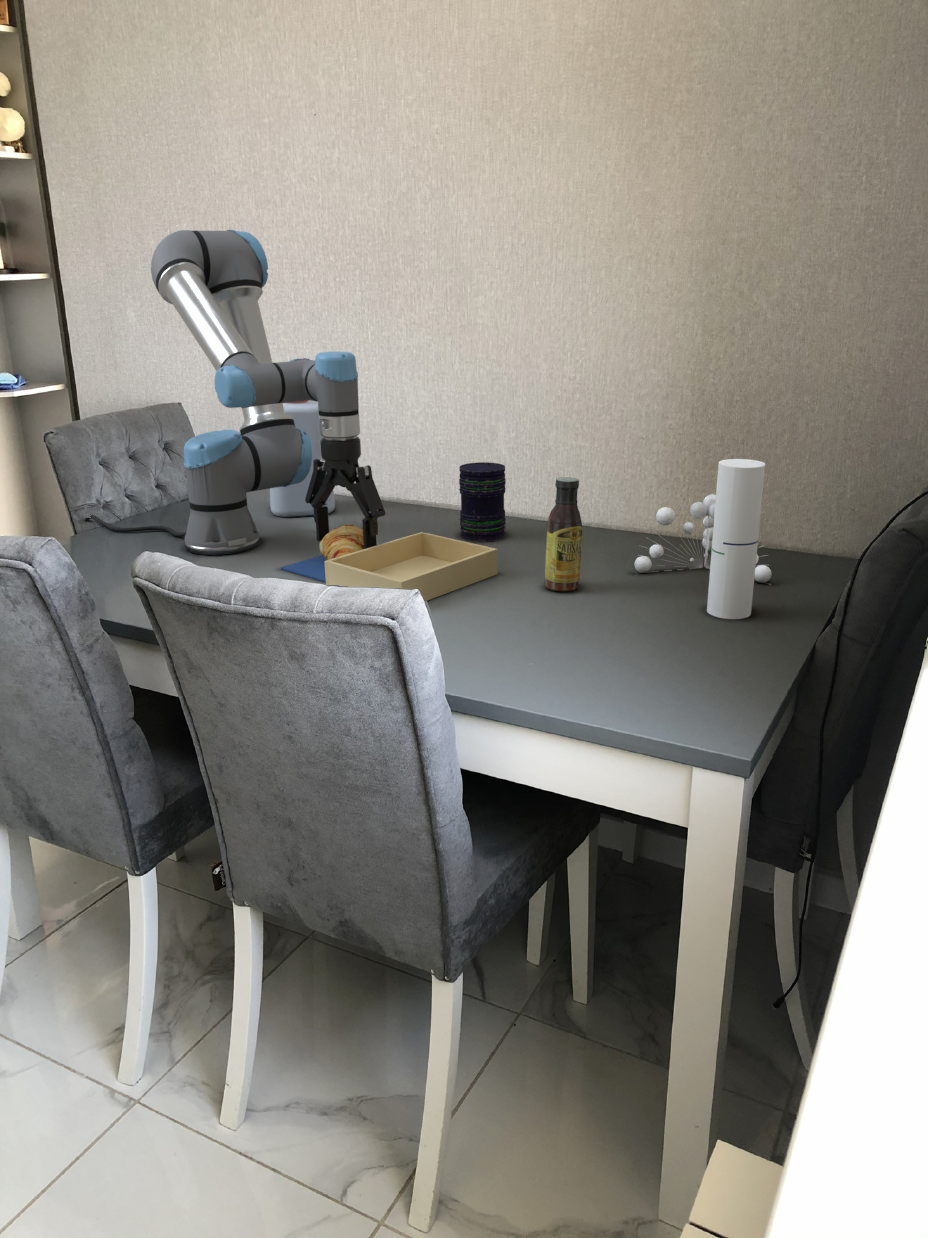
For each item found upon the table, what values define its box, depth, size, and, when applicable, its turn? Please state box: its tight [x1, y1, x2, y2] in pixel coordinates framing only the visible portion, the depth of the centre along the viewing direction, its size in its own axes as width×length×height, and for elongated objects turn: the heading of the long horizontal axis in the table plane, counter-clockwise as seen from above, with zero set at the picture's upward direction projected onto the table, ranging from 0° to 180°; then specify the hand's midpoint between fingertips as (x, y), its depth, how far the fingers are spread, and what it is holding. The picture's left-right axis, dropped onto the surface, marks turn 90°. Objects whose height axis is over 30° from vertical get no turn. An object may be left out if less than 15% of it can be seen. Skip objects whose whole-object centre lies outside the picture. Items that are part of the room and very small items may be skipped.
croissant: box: [318, 524, 364, 560], centre depth 190 cm, size 21×10×8 cm, turn 8°
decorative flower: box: [633, 493, 772, 585], centre depth 182 cm, size 25×22×14 cm
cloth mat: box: [280, 554, 327, 583], centre depth 191 cm, size 14×22×1 cm, turn 139°
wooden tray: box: [325, 531, 498, 602], centre depth 179 cm, size 20×26×5 cm
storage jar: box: [458, 461, 507, 543], centre depth 206 cm, size 10×10×15 cm
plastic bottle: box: [269, 400, 336, 518], centre depth 228 cm, size 15×15×28 cm
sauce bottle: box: [544, 476, 584, 592], centre depth 171 cm, size 6×6×20 cm
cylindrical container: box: [706, 458, 766, 620], centre depth 157 cm, size 7×7×25 cm
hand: (346, 545), depth 190 cm, fingers closed on croissant, 13 cm apart
